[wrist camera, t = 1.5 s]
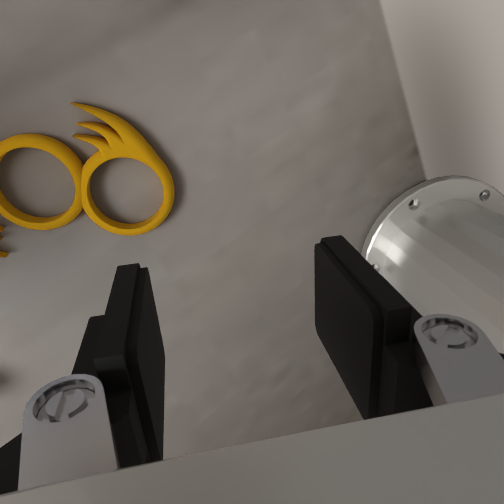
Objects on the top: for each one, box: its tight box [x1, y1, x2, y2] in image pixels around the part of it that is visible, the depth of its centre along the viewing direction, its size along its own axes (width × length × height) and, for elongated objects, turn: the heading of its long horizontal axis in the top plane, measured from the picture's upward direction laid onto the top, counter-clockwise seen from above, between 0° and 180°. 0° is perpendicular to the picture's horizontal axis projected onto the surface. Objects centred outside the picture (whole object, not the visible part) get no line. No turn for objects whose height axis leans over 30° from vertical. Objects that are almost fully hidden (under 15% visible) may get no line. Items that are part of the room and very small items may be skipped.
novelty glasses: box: [0, 102, 174, 257], centre depth 26 cm, size 17×2×10 cm
